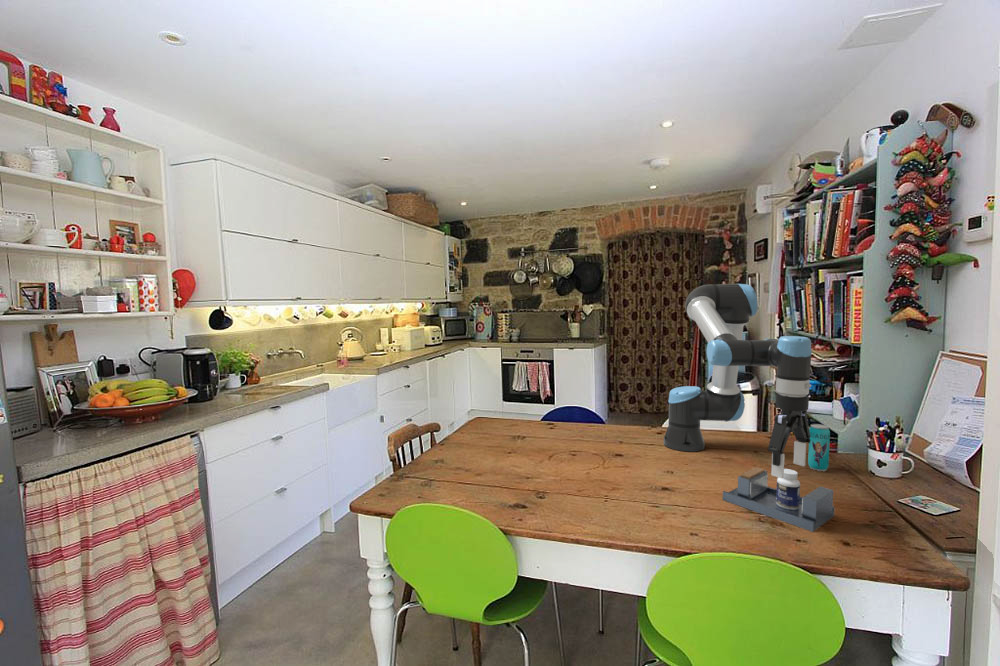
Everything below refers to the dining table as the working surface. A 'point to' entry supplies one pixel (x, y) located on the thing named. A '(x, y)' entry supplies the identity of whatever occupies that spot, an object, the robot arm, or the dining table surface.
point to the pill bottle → (788, 490)
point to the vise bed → (807, 516)
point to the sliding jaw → (752, 483)
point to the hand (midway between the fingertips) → (788, 470)
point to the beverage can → (819, 447)
